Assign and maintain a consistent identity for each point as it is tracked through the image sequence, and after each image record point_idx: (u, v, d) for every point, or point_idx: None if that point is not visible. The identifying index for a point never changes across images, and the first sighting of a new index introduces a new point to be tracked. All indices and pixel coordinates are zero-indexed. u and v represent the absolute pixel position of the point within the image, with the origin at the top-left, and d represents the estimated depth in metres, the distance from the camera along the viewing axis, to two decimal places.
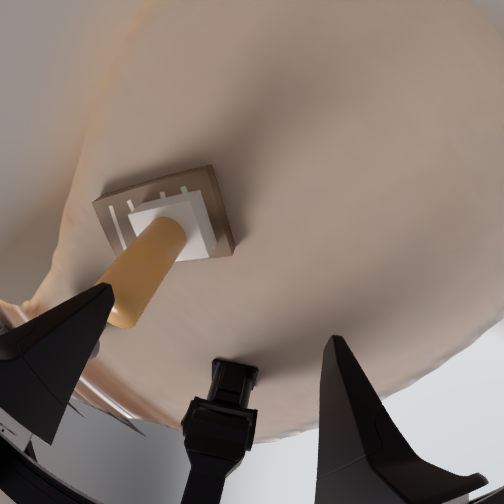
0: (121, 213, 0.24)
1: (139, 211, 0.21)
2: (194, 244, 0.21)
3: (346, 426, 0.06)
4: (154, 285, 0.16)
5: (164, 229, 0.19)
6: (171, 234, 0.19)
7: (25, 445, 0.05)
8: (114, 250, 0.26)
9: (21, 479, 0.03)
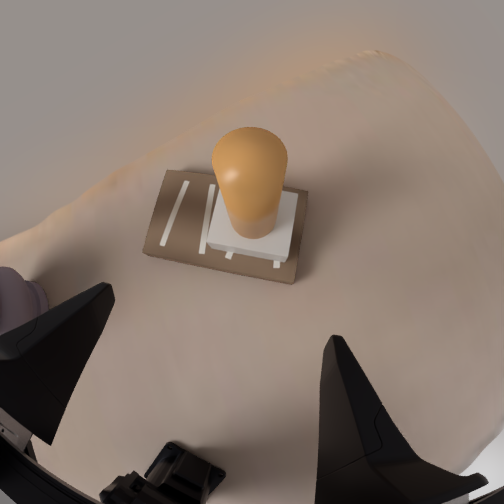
0: (194, 192, 0.23)
1: None
2: (280, 236, 0.20)
3: (346, 426, 0.06)
4: (279, 195, 0.14)
5: None
6: None
7: (25, 445, 0.05)
8: (151, 227, 0.23)
9: (21, 479, 0.03)
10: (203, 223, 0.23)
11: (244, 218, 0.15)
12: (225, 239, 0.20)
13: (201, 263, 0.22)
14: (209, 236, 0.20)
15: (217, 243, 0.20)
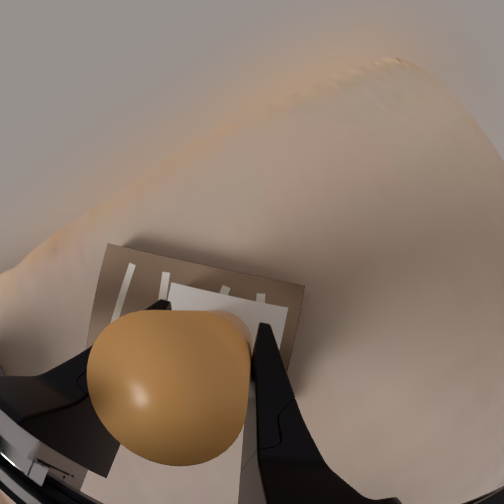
0: (142, 283, 0.16)
1: (192, 287, 0.14)
2: None
3: (252, 416, 0.06)
4: None
5: (243, 326, 0.11)
6: (250, 339, 0.11)
7: (81, 483, 0.05)
8: (92, 326, 0.15)
9: (21, 479, 0.03)
10: None
11: None
12: None
13: None
14: None
15: None
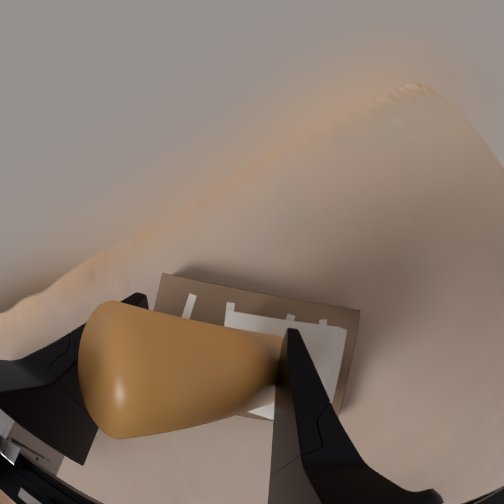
0: (204, 314, 0.16)
1: None
2: None
3: (289, 422, 0.06)
4: (222, 406, 0.06)
5: (280, 346, 0.11)
6: None
7: (57, 469, 0.05)
8: None
9: (21, 479, 0.03)
10: None
11: None
12: None
13: None
14: None
15: None
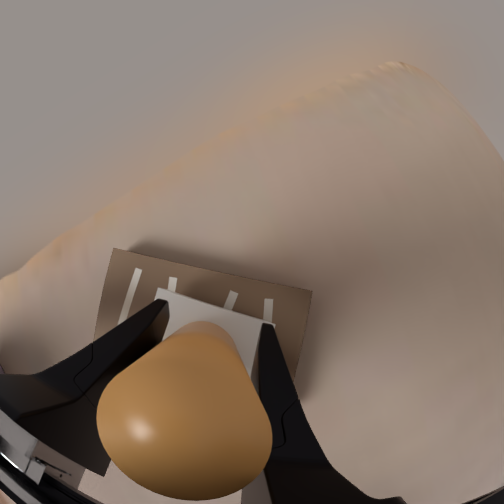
0: (148, 288, 0.16)
1: (179, 294, 0.13)
2: None
3: None
4: None
5: (233, 342, 0.11)
6: None
7: (78, 482, 0.05)
8: (97, 331, 0.15)
9: (21, 479, 0.03)
10: None
11: None
12: None
13: None
14: None
15: None
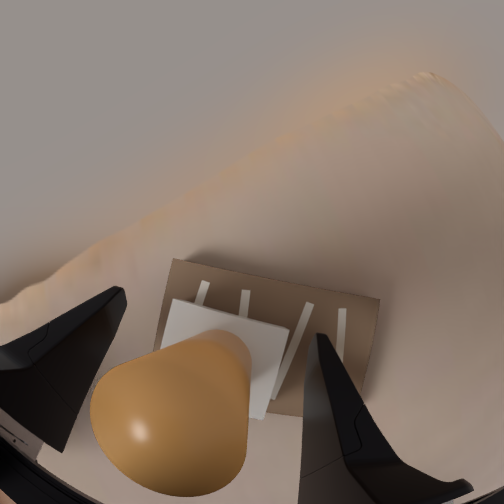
0: (218, 302, 0.16)
1: (194, 304, 0.14)
2: (254, 394, 0.12)
3: (326, 425, 0.06)
4: None
5: (244, 349, 0.11)
6: (249, 362, 0.11)
7: (36, 454, 0.05)
8: (156, 350, 0.15)
9: (21, 479, 0.03)
10: None
11: None
12: None
13: None
14: None
15: None
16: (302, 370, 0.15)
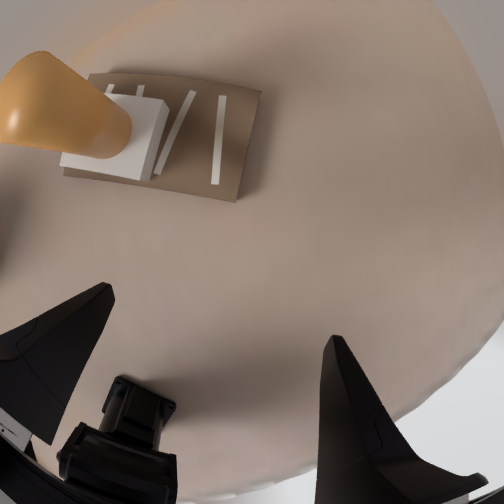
0: None
1: None
2: (132, 155, 0.14)
3: (346, 426, 0.06)
4: (82, 123, 0.08)
5: (119, 107, 0.12)
6: (122, 116, 0.12)
7: (25, 445, 0.05)
8: None
9: (21, 479, 0.03)
10: None
11: (58, 151, 0.09)
12: (76, 162, 0.14)
13: (126, 182, 0.17)
14: (62, 159, 0.13)
15: (69, 166, 0.14)
16: (184, 146, 0.17)
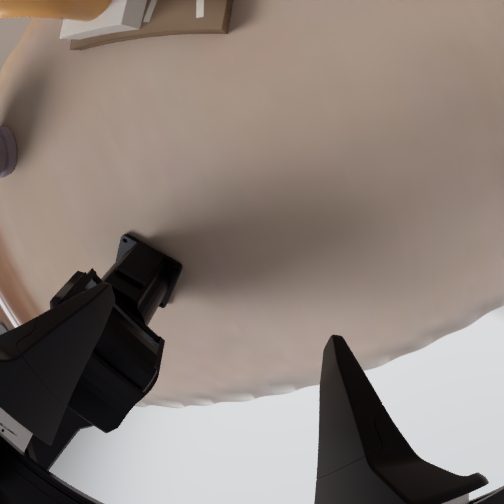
0: None
1: None
2: (115, 8, 0.10)
3: (346, 426, 0.06)
4: None
5: None
6: None
7: (25, 445, 0.05)
8: None
9: (21, 479, 0.03)
10: None
11: (39, 16, 0.06)
12: (71, 30, 0.10)
13: (120, 35, 0.13)
14: (61, 33, 0.10)
15: (67, 36, 0.11)
16: None
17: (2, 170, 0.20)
